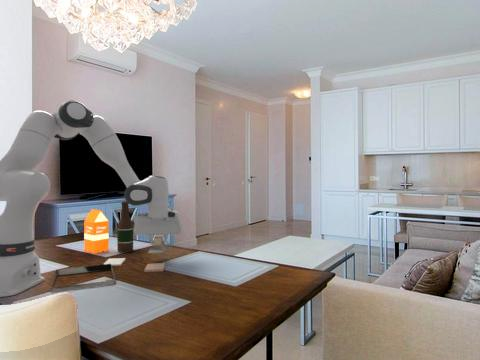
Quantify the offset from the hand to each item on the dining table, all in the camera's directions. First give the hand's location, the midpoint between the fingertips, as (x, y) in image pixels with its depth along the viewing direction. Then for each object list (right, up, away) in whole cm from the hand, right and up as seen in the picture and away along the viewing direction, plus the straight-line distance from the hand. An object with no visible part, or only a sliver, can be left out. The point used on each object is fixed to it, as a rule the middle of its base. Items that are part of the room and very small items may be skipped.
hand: (158, 244), depth 148 cm
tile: (+1, -7, -8) cm, 11 cm away
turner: (0, -2, -3) cm, 3 cm away
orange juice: (-34, -7, +18) cm, 39 cm away
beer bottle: (-20, -7, +18) cm, 27 cm away
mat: (-17, -7, -4) cm, 19 cm away
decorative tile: (-20, -8, -27) cm, 34 cm away
